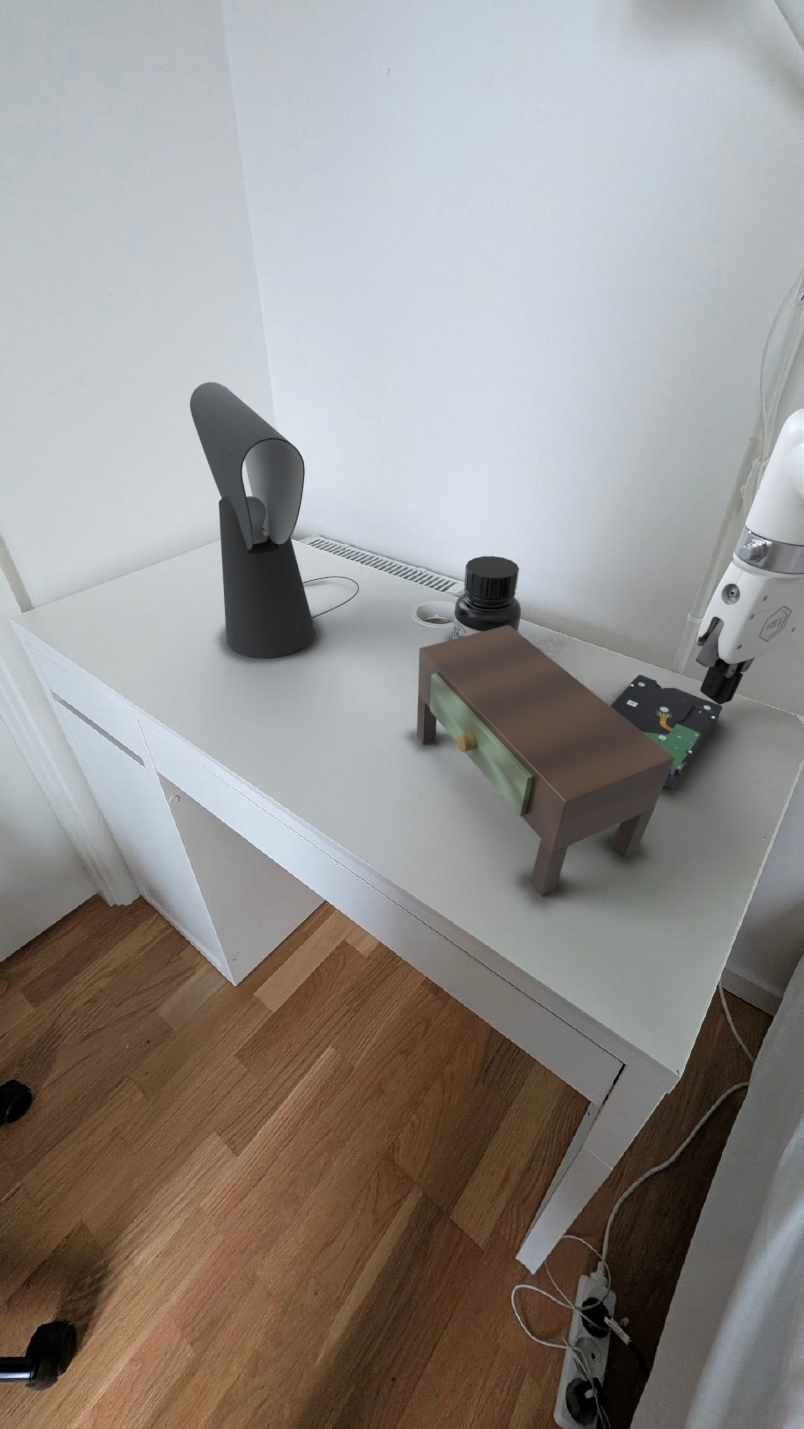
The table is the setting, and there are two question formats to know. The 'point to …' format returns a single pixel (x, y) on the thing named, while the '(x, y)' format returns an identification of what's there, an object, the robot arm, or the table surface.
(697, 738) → the disk drive
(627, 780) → the drawer unit
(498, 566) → the ink bottle
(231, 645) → the table lamp
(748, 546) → the robot arm
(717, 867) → the table surface
